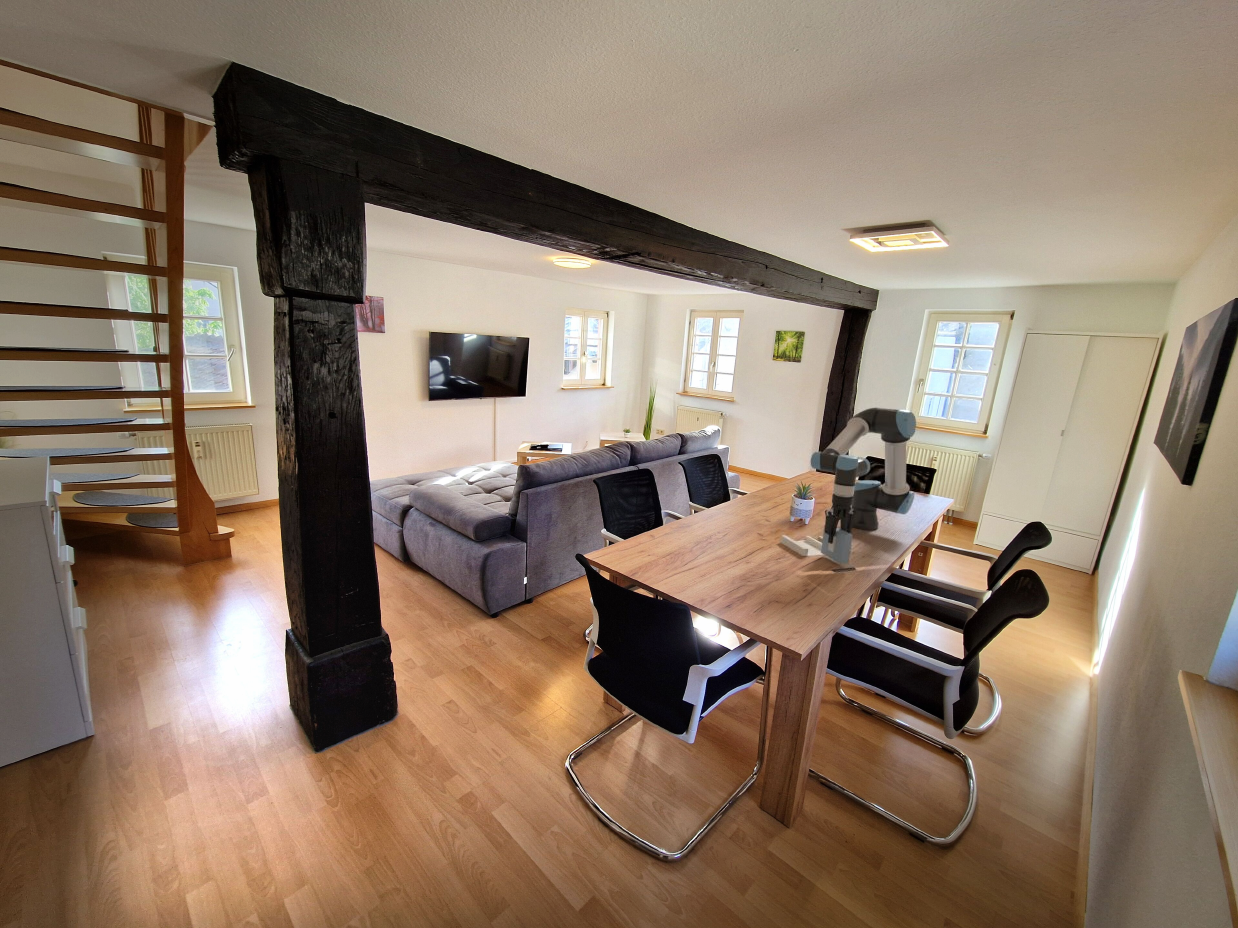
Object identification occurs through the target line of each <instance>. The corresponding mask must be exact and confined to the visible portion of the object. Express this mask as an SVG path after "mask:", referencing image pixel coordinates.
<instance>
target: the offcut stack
mask: <svg viewBox="0 0 1238 928" xmlns="http://www.w3.org/2000/svg"><path fill="white" fill-rule="evenodd" d="M812 538H814V539H816V540H817V541H819V542H821V543H822V540H823V535H817V536H812Z"/></svg>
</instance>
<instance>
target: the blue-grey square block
mask: <svg viewBox="0 0 1238 928" xmlns="http://www.w3.org/2000/svg"><path fill="white" fill-rule="evenodd" d="M823 526H824V528H823V532H822V536H823V540H822V548H821V553H822V554H823V555H824V556H825V557H828V558H829V559H831V560H833V561H834V562H837V563H838V564H840V565H847V564H850V556H851V552H850V550H851V551H852V548H851V544H852V543H853V534H852V533H848V532H846V531H843V530H841V528H839V527H837V529H836V532H835V536H836V542H835V549H834V552H832V551H830V550H828V546H829V543H828V537H829V535H828V534H826V533H825V524H824V525H823Z"/></svg>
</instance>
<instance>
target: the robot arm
mask: <svg viewBox="0 0 1238 928" xmlns="http://www.w3.org/2000/svg"><path fill="white" fill-rule="evenodd" d="M916 428H917V419H916V416H915V414H914V412H912V411H910V410H906V409H903V408H902V409H894V408H884V407H883V408H882V407H871V408H867V409H864V410H862V411H860V412H858V413H855V414H854V415H853V416H852V417H851V418H850V419H849V420H848V422H847V423H846V427H845V428H844V429H843V430H842V431H841V432H840V433H839V434H838V435H837V436H836V437H835V438H834V440H832V441H831V442H830V444H829V445H828V446H827V447H826V448H825V449H824V450H823V452H822V451H815V452H813V453H812V455H811V457H810V467H811V468H812V469H816V470H819V471H822V472H829V473H834V475H835V476H834V482H833V489H832V493H833V494H832V495H831V497H832V498H831V503H832V504H831V505H832V506H831V507H830V509H826V510H825V511H824V513H825V520H824V523H825V524H824V525H825V533H826V534H828V535H829V537H828V543H829V546H828V550H830V551H832V552H834V549H835V542H836V536H835V532H836V529H837V528H838V525H839V522H840V525H839V527H840V529H841V530H843V531H846V532H848V533H850V534H852V529H853V528H854V529H858V530H859V529H860V530H868V531H869V530H870V531H872V530H873V531H874V530H877V529H879V521H878V515H877V511H878V510H882V511H886V512H891V513H894V514H898V515H899V514H900V515H906V514H907V513H909V511H910V510H911V508H912V505H913V503H914V500H915V492H914V491H912V490H910V485H909V484H908V483H907V442H909V441H910V440H911V438H912V437H913V436H914V435H915V433H916ZM869 433H870V434H871V433H872V434H878V435H880V439H881V441H882V442H884V473H885V474H884V475H885V477H884V481H885V482H884V483H883V484H882V482H881V481H878V480H868V479H867V480H858V481H857V478H859V477H863V476H865V475H867V474H868V473H869V472H870V470H871V463H870V461H869V460H868V459H867V458H865V457H861V456H860V457H859V456H858V457H857V456H854V455H850V454H847V453H848V452H849V451H850V450H851V448H853V446H854V445H855V444H856V443H857V442H858V441H859V440H860V439H861V437H865V436H866V435H867V434H869Z"/></svg>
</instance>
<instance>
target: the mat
mask: <svg viewBox="0 0 1238 928" xmlns="http://www.w3.org/2000/svg"><path fill="white" fill-rule="evenodd" d="M831 571H832V572H833V573H835V574H836V573H837V574H838V573H844V572H845V573H846V572H853V571H857V568H855V567H845V568H835V569H831Z"/></svg>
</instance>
